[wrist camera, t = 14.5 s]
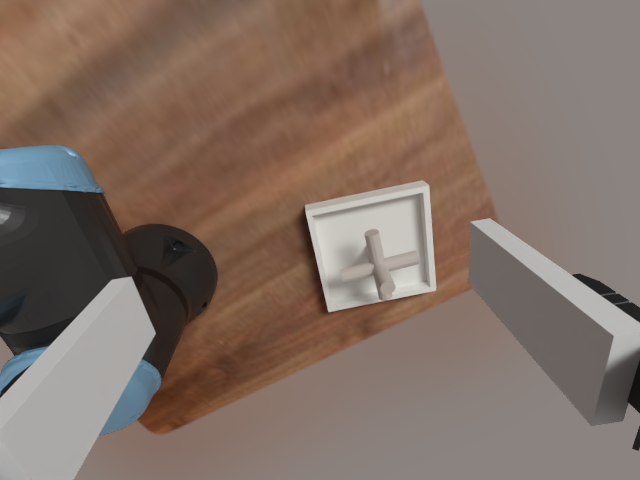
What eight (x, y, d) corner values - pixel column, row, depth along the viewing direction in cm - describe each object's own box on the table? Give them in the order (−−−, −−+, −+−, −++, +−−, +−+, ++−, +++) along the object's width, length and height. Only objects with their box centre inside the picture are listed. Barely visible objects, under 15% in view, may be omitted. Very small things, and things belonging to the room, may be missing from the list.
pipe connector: (410, 268, 52) (434, 310, 43) (345, 285, 52) (355, 330, 43) (400, 207, 47) (424, 240, 38) (328, 226, 48) (336, 263, 39)
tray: (327, 302, 54) (328, 312, 52) (304, 205, 48) (305, 211, 45) (430, 281, 54) (436, 290, 52) (422, 180, 47) (428, 185, 45)
